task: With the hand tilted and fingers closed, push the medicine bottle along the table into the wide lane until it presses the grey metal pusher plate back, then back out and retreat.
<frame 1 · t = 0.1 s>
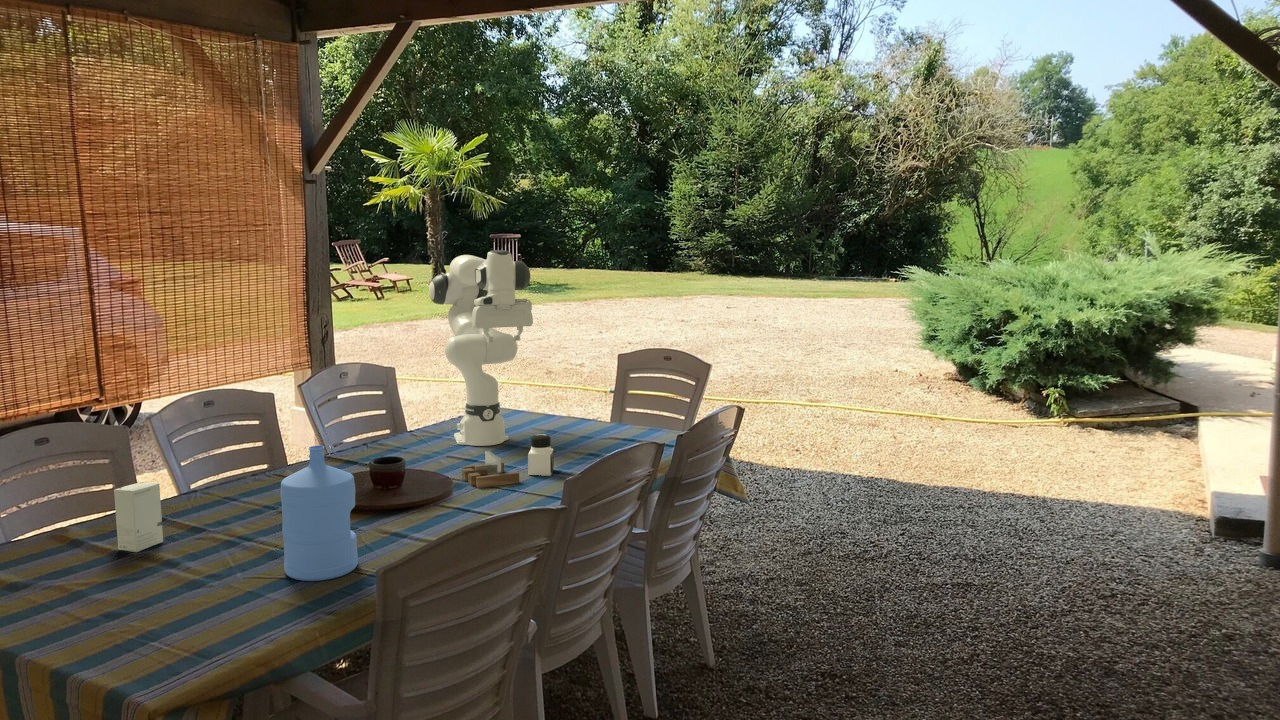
hand: (503, 341, 301), 39 cm above the table, tool pointing down, fingers open, 8 cm apart
water jug: (321, 570, 205), on the table
pusher: (485, 467, 277), point 4 cm above the table, slide at 0.0 cm
medicine bottle: (541, 473, 286), on the table
skincare box: (141, 546, 219), on the table
lane: (490, 479, 278), on the table
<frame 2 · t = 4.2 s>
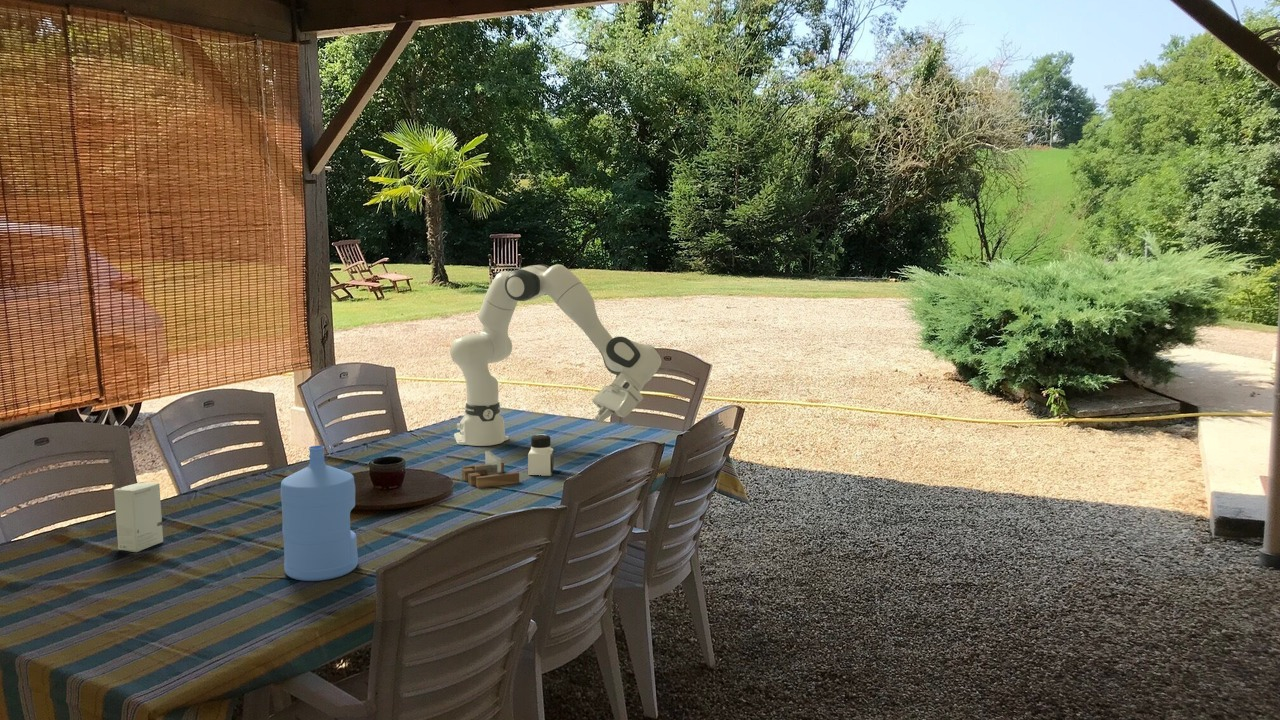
hand: (598, 420, 293), 15 cm above the table, tool tilted 45°, fingers closed
nothing on the table moved.
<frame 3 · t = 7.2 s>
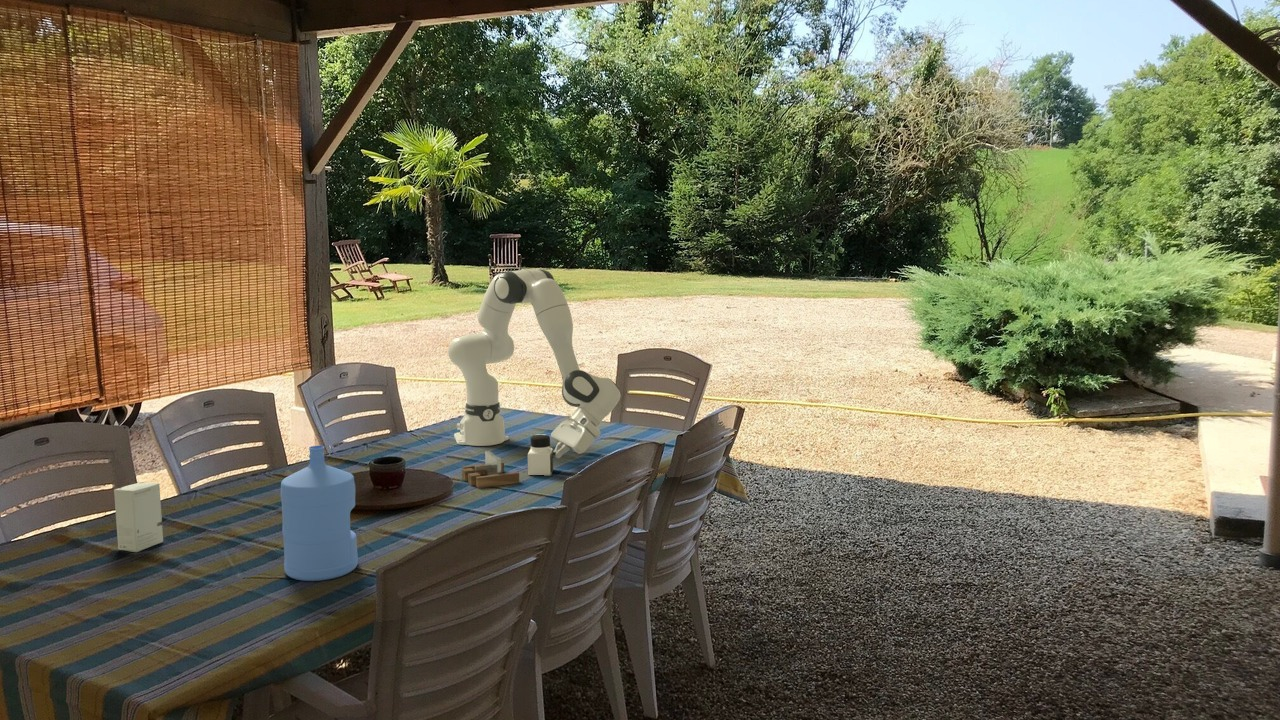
hand: (555, 456, 288), 5 cm above the table, tool tilted 45°, fingers closed
medicine bottle: (540, 473, 286), on the table, touching gripper
everything else where it was.
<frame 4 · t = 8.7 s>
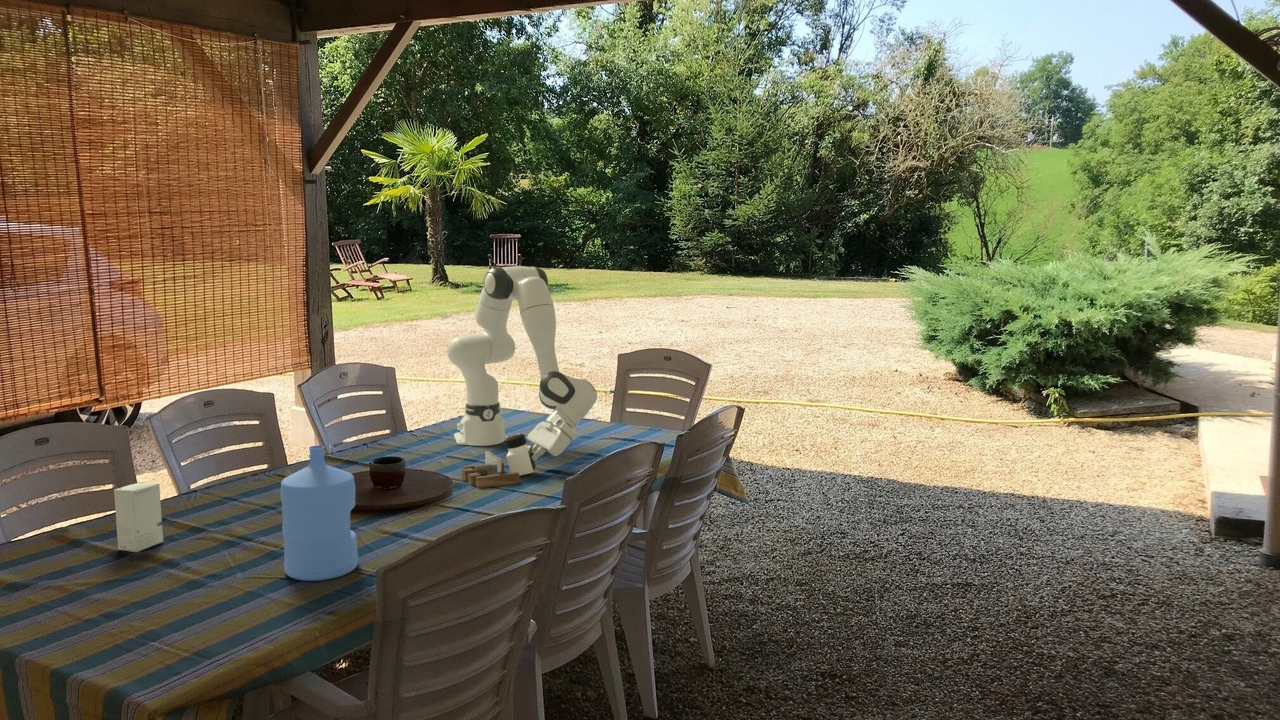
hand: (531, 458, 284), 5 cm above the table, tool tilted 45°, fingers closed
medicine bottle: (524, 472, 283), point 1 cm above the table, touching gripper
everything else where it was.
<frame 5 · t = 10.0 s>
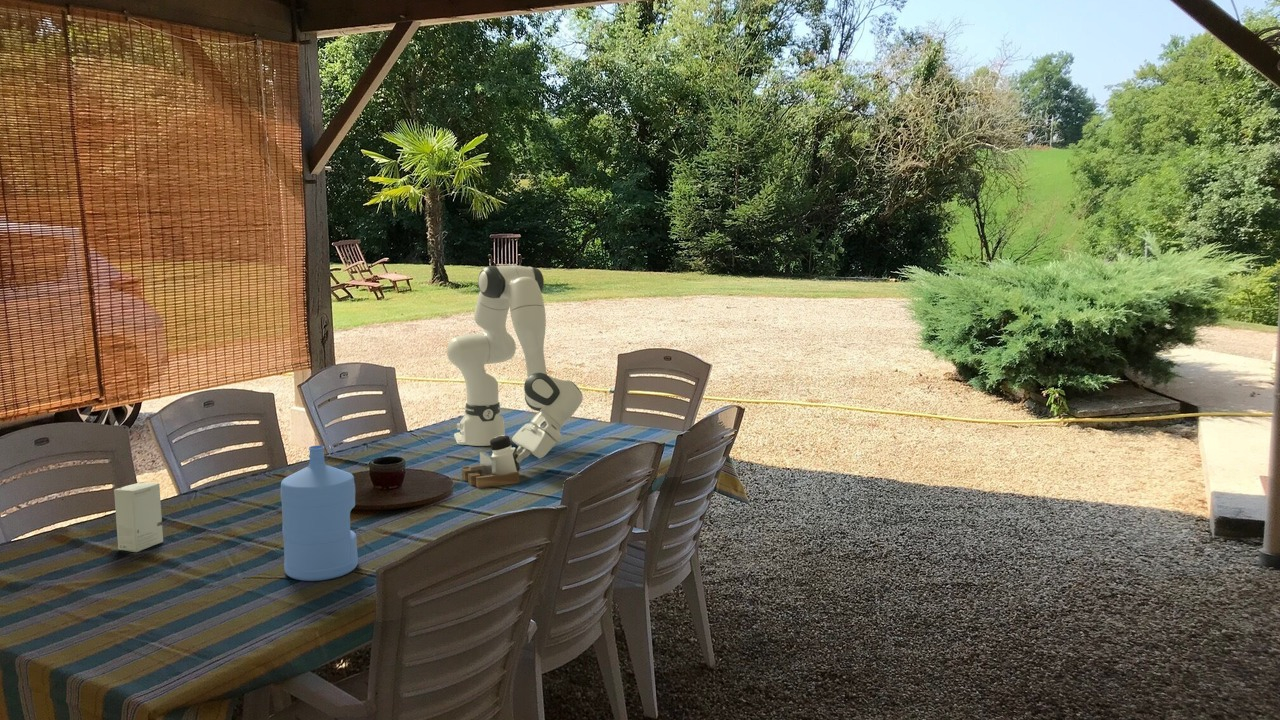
hand: (515, 460, 281), 5 cm above the table, tool tilted 45°, fingers closed
pusher: (479, 467, 276), point 4 cm above the table, slide at 1.7 cm, touching medicine bottle
medicine bottle: (508, 474, 281), point 1 cm above the table, touching gripper, pusher
everything else where it was.
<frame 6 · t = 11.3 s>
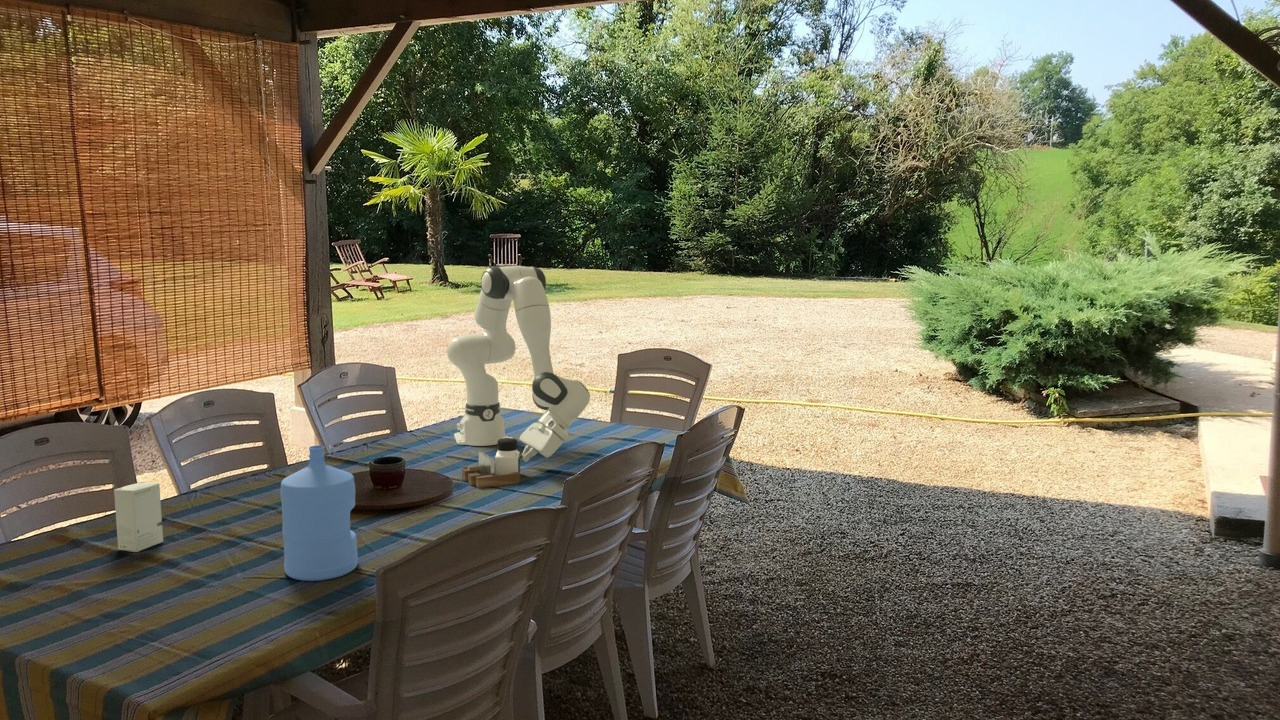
hand: (522, 459, 282), 5 cm above the table, tool tilted 45°, fingers closed
pusher: (478, 467, 276), point 4 cm above the table, slide at 2.1 cm
medicine bottle: (507, 477, 281), on the table, touching gripper
everything else where it was.
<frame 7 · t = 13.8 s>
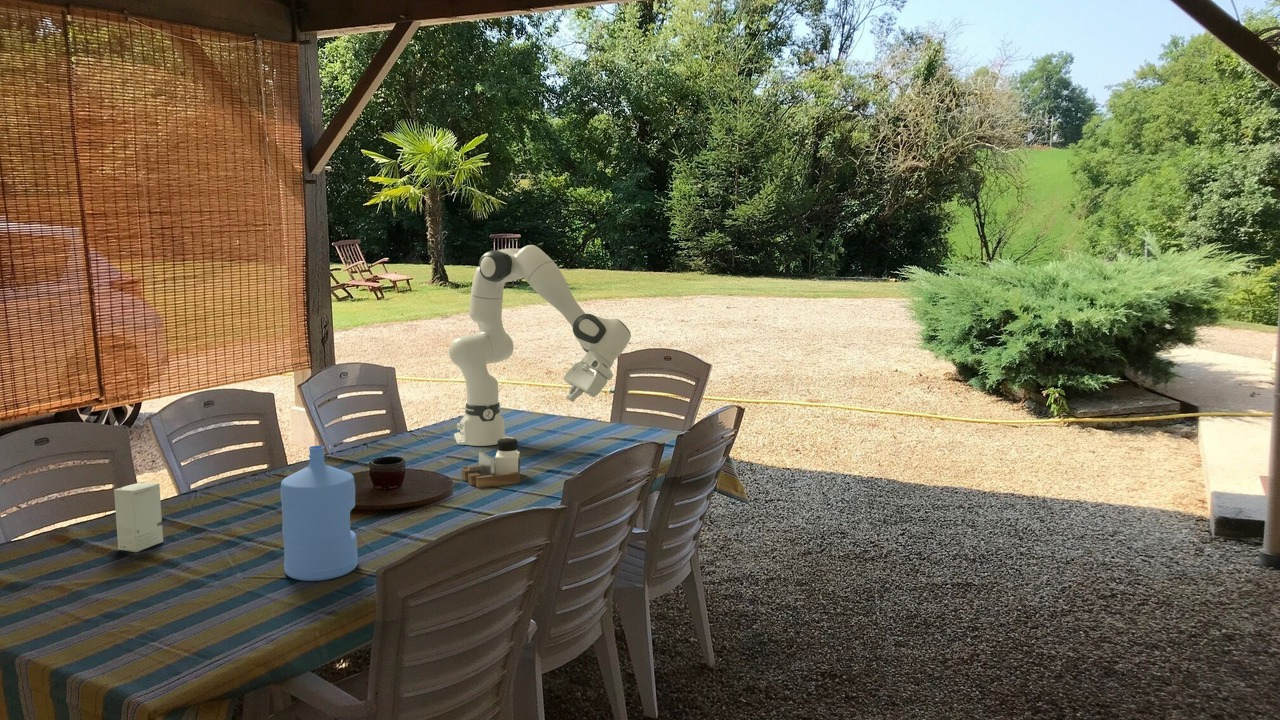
hand: (569, 400, 289), 22 cm above the table, tool tilted 40°, fingers closed
medicine bottle: (507, 477, 281), on the table
everything else where it was.
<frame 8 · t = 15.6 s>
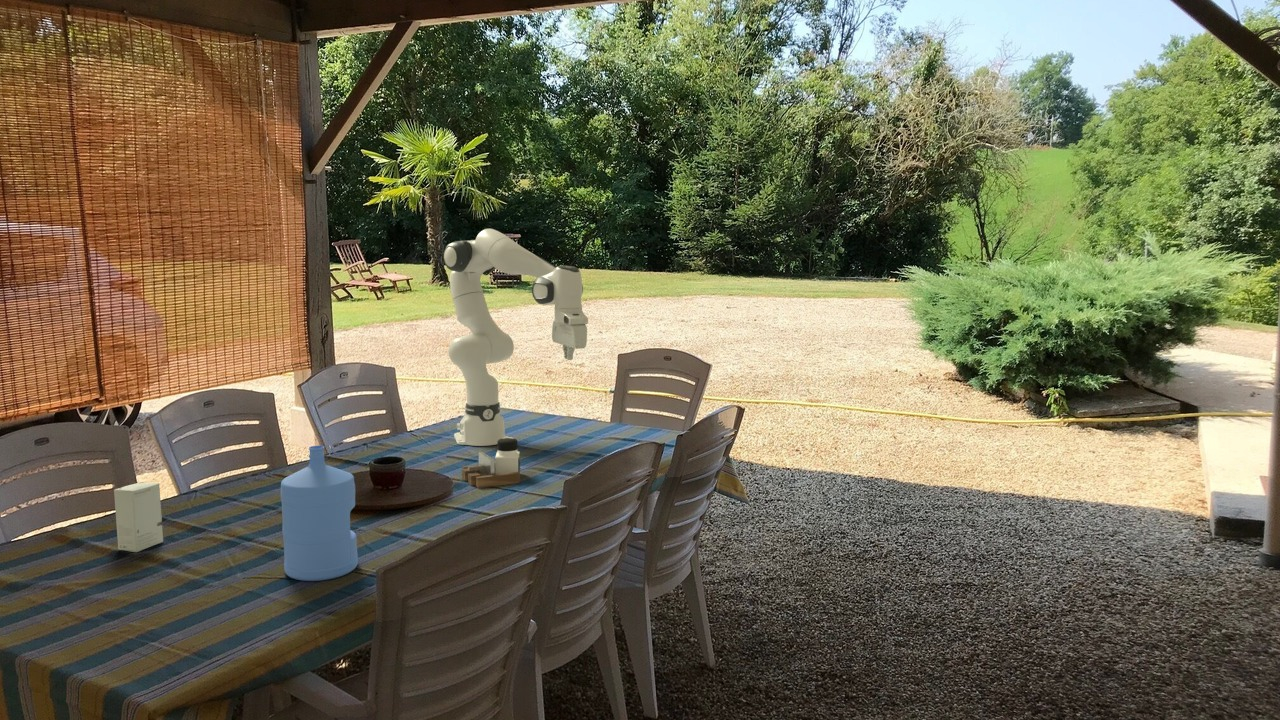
hand: (568, 359, 294), 34 cm above the table, tool pointing down, fingers closed
nothing on the table moved.
at the end: medicine bottle inside the target area (2.5 cm from its centre), on the table; medicine bottle tilted 0° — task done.
